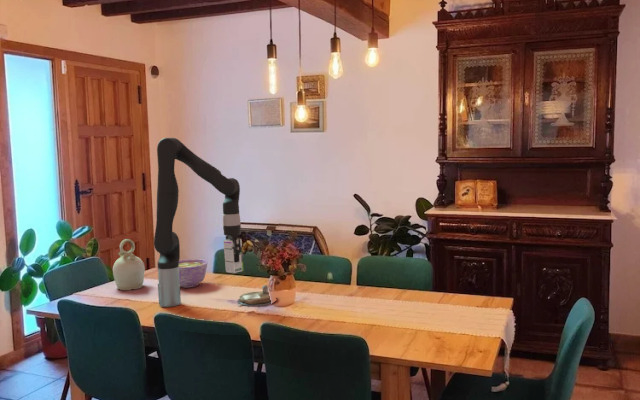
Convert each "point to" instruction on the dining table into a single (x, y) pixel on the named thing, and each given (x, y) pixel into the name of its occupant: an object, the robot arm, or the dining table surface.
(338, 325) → the dining table surface
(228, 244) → the syrup box
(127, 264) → the jug
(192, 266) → the bowl of food
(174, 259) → the robot arm
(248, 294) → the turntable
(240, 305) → the base plate
